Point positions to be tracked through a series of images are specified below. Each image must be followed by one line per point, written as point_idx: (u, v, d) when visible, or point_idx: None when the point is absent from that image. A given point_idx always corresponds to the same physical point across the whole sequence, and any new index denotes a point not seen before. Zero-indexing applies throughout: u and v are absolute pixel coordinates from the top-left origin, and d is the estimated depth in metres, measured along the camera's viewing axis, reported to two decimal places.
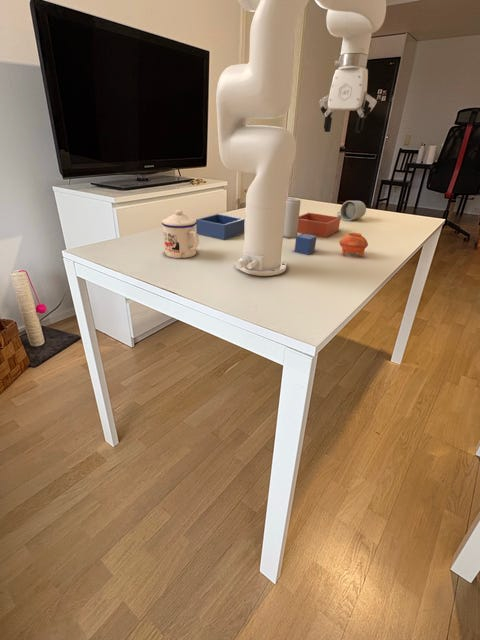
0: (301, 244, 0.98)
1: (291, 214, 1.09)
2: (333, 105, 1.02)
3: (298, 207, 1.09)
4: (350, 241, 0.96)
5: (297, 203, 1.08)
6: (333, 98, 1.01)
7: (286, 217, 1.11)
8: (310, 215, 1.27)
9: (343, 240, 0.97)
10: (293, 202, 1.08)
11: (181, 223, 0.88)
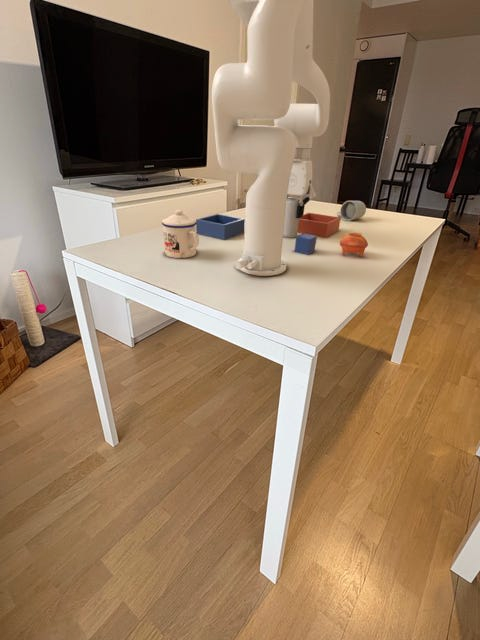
0: (301, 244, 0.98)
1: (291, 214, 1.09)
2: None
3: None
4: (350, 241, 0.96)
5: (297, 203, 1.08)
6: None
7: (286, 217, 1.11)
8: (310, 215, 1.27)
9: (343, 240, 0.97)
10: (293, 202, 1.08)
11: (181, 223, 0.88)
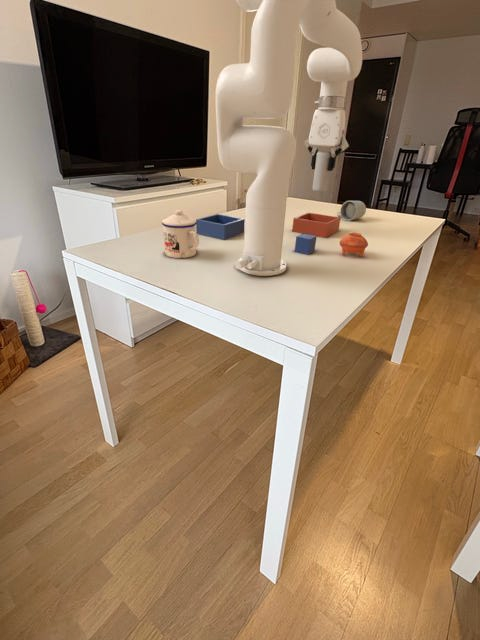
0: (301, 244, 0.98)
1: (323, 167, 1.10)
2: (313, 142, 1.08)
3: None
4: (350, 241, 0.96)
5: (329, 155, 1.08)
6: (313, 136, 1.07)
7: (317, 170, 1.11)
8: (310, 215, 1.27)
9: (343, 240, 0.97)
10: (325, 154, 1.08)
11: (181, 223, 0.88)
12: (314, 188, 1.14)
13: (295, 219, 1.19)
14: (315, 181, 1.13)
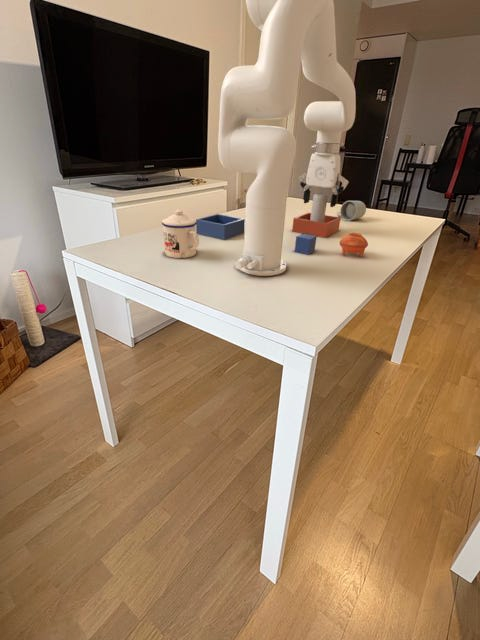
0: (301, 244, 0.98)
1: (319, 208, 1.17)
2: (310, 183, 1.14)
3: (325, 201, 1.16)
4: (350, 241, 0.96)
5: (324, 197, 1.15)
6: (310, 177, 1.14)
7: (314, 211, 1.18)
8: (310, 215, 1.27)
9: (343, 240, 0.97)
10: (321, 197, 1.15)
11: (181, 223, 0.88)
12: None
13: (295, 219, 1.19)
14: (312, 220, 1.20)
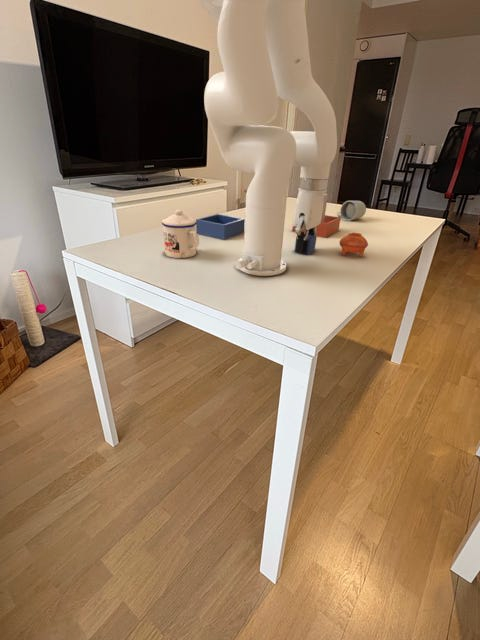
0: None
1: None
2: None
3: (325, 201, 1.16)
4: (350, 241, 0.96)
5: (324, 197, 1.15)
6: None
7: None
8: None
9: (343, 240, 0.97)
10: None
11: (181, 223, 0.88)
12: None
13: None
14: None
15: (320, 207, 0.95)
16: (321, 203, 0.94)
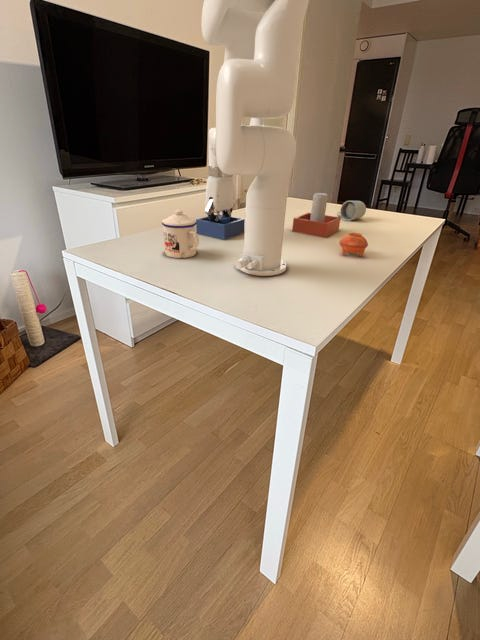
0: None
1: (319, 208, 1.17)
2: None
3: (325, 201, 1.16)
4: (350, 241, 0.96)
5: (324, 197, 1.15)
6: None
7: (314, 211, 1.18)
8: (310, 215, 1.27)
9: (343, 240, 0.97)
10: (321, 197, 1.15)
11: (181, 223, 0.88)
12: None
13: (295, 219, 1.19)
14: (312, 220, 1.20)
15: (229, 192, 1.09)
16: (229, 188, 1.09)
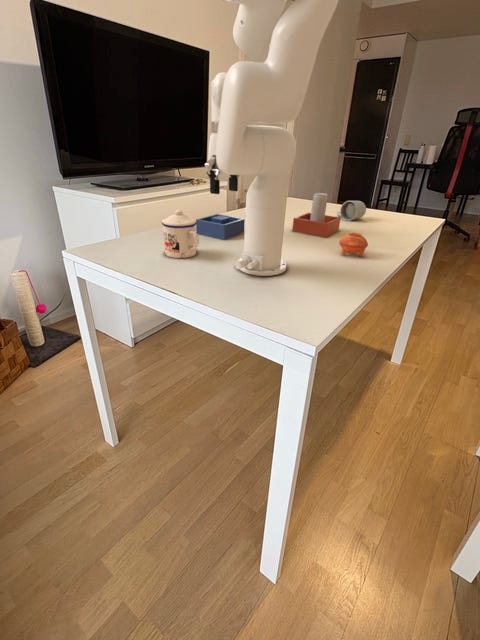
0: None
1: (319, 208, 1.17)
2: None
3: (325, 201, 1.16)
4: (350, 241, 0.96)
5: (324, 197, 1.15)
6: None
7: (314, 211, 1.18)
8: (310, 215, 1.27)
9: (343, 240, 0.97)
10: (321, 197, 1.15)
11: (181, 223, 0.88)
12: None
13: (295, 219, 1.19)
14: (312, 220, 1.20)
15: None
16: None
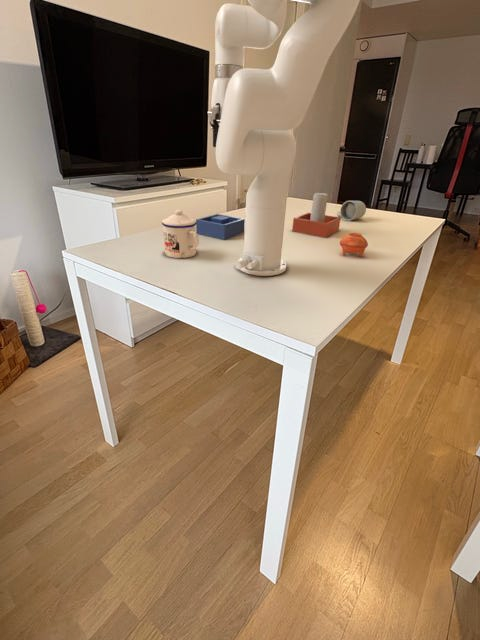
0: None
1: (319, 208, 1.17)
2: None
3: (325, 201, 1.16)
4: (350, 241, 0.96)
5: (324, 197, 1.15)
6: None
7: (314, 211, 1.18)
8: (310, 215, 1.27)
9: (343, 240, 0.97)
10: (321, 197, 1.15)
11: (181, 223, 0.88)
12: None
13: (295, 219, 1.19)
14: (312, 220, 1.20)
15: None
16: None
